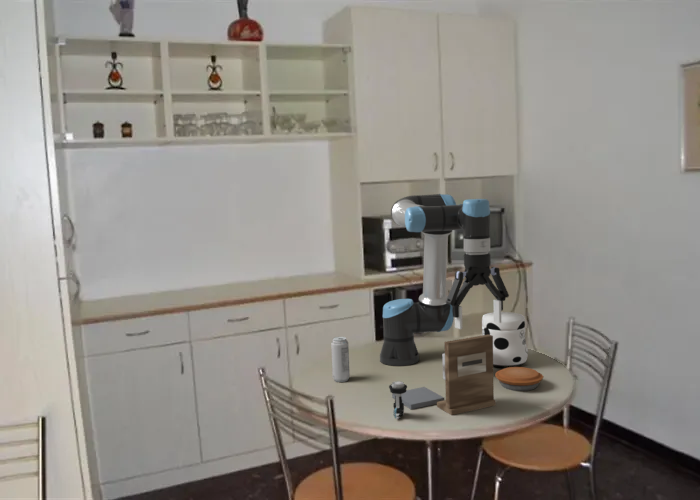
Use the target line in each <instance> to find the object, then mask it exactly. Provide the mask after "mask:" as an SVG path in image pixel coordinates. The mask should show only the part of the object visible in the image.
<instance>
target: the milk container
mask: <svg viewBox="0 0 700 500" xmlns="http://www.w3.org/2000/svg"><path fill="white" fill-rule="evenodd" d="M483 335H492V336H493V367H499V368H509V367H520V366H522V365H523V364H525V363H526V362H527V359H528V355H529V350H528V349H529V348H528V345H527V342H526V341H527V340H526V318H525V315H523V314H522V313H517V312H512V311H511V312H510V311H501V323H498V322H494V311H493V312H488V313H485V314H483V315H482V318H481V336H483Z"/></svg>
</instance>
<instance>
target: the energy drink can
mask: <svg viewBox="0 0 700 500" xmlns="http://www.w3.org/2000/svg"><path fill="white" fill-rule="evenodd" d="M349 347H350V346H349V342H348V340H347V337H346V336H335V337H333V338H332V341H331V343H330V348H331V368H332V370H331V371H332V373H331V374H332V379H333V380H334V381H333V382H335V383H345V382H348V381H349V378H350V375H351V373H350V354H349V350H350V349H349Z"/></svg>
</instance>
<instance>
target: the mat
mask: <svg viewBox="0 0 700 500" xmlns="http://www.w3.org/2000/svg"><path fill="white" fill-rule="evenodd" d="M391 395H392V397H391V398H392V399H394V400H395V394H393V393H391ZM401 396H402V403H404V407H407V408H409V409H410V410H414V409H420V408H423V407H424V408H425V407H428V406H434V405H437V402H439V401H444V400H445V397H444V396H443V395H440V394H438V393H436V392H434V391H433V390H432V389H429V388H428V387H425V386H422V387H417V388H416V387H415V388H411V389H406V392H405V393H404V394H401Z"/></svg>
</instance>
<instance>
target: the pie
mask: <svg viewBox="0 0 700 500" xmlns="http://www.w3.org/2000/svg"><path fill="white" fill-rule="evenodd" d="M494 375H495V378H496V379H497V381H499V382H498V383H500V385H501V386H502V387H503V388H504V389H506V390H511V391H515V392H528V391H533V390H534V389H536V388H537V387H538V385H539V384H540V382H542V381H543V379H544V375H543V374H542V373H540V372H538V370H536V369H533V368H530V367H524V366H515V367H503V368H502V369H499V370H498V371H496V372H495V374H494Z"/></svg>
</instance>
